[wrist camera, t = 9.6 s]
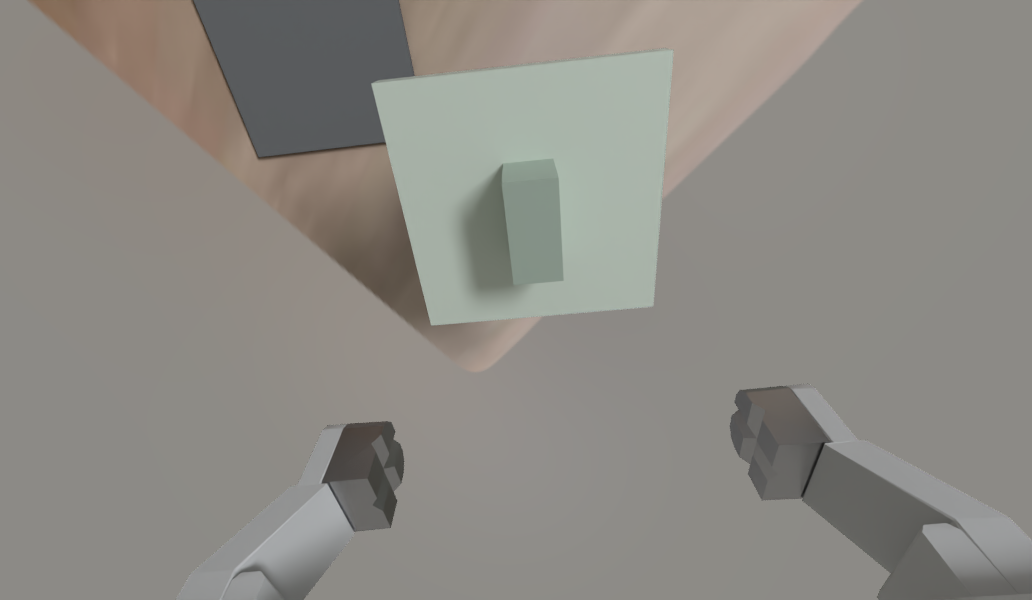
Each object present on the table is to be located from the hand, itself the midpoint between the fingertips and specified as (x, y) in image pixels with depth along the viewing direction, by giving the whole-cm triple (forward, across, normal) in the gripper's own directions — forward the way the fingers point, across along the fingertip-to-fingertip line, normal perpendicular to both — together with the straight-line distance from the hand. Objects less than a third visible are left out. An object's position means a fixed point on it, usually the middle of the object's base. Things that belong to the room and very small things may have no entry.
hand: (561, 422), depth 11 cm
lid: (+15, 0, 0) cm, 15 cm away
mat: (+30, +15, -8) cm, 35 cm away
